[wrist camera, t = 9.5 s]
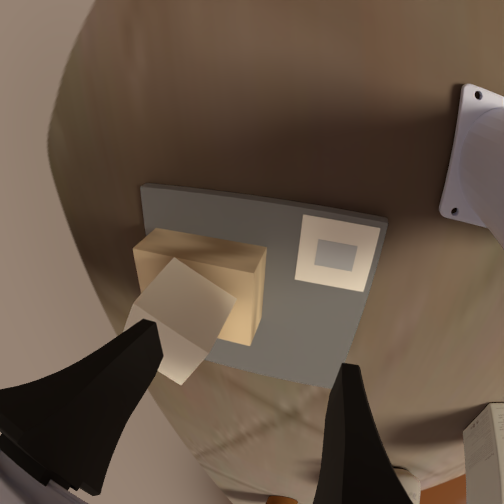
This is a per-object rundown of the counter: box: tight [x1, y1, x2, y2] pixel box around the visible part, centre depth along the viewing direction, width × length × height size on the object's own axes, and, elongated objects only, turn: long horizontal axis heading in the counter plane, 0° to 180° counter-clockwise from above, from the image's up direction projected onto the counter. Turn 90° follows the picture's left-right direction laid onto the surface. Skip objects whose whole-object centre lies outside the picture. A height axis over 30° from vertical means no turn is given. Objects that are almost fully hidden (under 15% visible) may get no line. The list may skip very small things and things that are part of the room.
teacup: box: [393, 468, 420, 504], centre depth 31 cm, size 14×11×8 cm
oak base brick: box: [133, 228, 267, 346], centre depth 21 cm, size 8×6×3 cm
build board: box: [140, 183, 388, 389], centre depth 23 cm, size 16×16×1 cm
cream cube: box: [123, 257, 237, 385], centre depth 18 cm, size 4×4×4 cm
